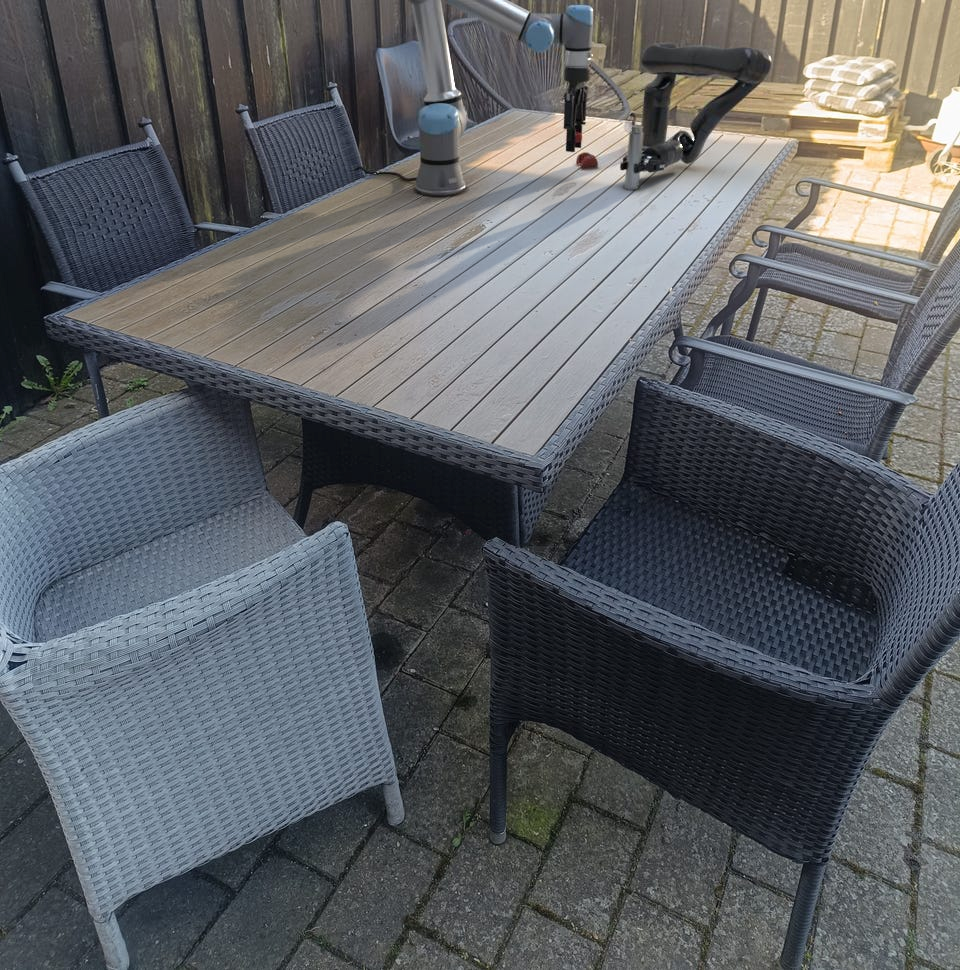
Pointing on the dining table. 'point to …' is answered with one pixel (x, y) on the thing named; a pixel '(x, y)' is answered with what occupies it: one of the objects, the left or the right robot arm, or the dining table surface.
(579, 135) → the lid
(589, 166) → the dental model
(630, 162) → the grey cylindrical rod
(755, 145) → the dining table surface
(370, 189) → the dining table surface
